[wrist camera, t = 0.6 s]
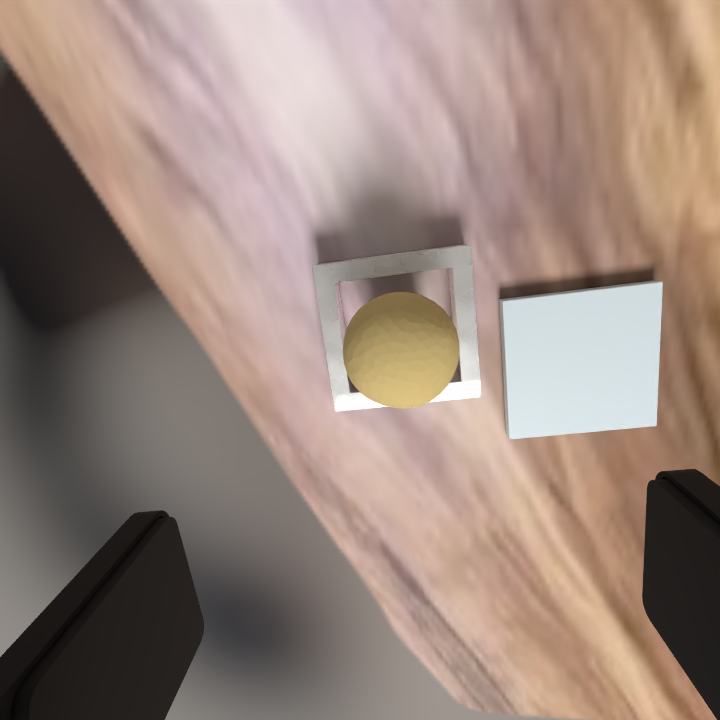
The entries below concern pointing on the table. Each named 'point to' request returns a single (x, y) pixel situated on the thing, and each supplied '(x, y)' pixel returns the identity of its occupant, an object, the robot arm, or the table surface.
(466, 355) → the frame
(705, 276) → the table surface
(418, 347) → the light bulb
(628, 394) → the pad
